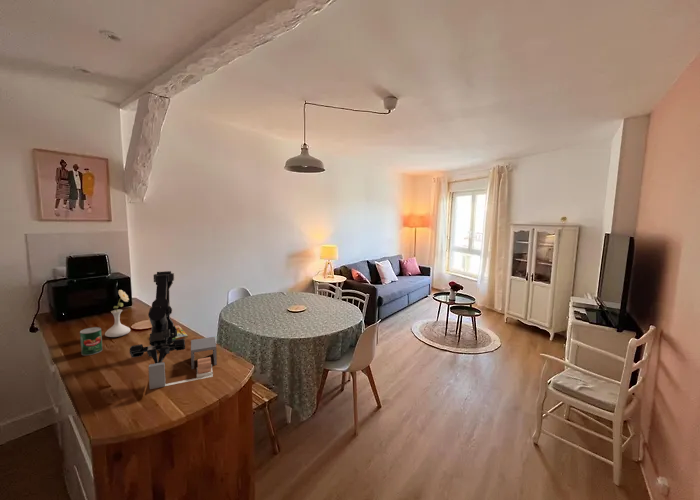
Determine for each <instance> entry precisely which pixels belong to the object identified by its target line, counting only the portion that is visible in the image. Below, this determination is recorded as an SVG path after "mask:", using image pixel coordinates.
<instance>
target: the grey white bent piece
mask: <svg viewBox="0 0 700 500" xmlns="http://www.w3.org/2000/svg"><path fill="white" fill-rule="evenodd" d="M165 367H166V364H165V361H162V363H156V364H155V363H151V364H150V363H149V365H148V382H149V385H148V386H149V390H153V389H158V388H164V387H167V386H172V385H173V386H174V385H176V384H177V385H178V384H182V383H183V384H184V383H187V382H192V381H197V380H202V379H208V378H213V377H214V372H213V364H211V372H206V373H201V374H198V366H197V367H196V377H193V378H191V379H184V380H179V381H174V382H173V381H172V382H169V383H166V368H165Z"/></svg>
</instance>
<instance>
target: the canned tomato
mask: <svg viewBox="0 0 700 500" xmlns="http://www.w3.org/2000/svg"><path fill="white" fill-rule="evenodd" d="M79 336H80V338H79V339H80V354H81V355H82V356H91V355H95V354H99V353H101V352H102V351H103V336H102V328H101V327H100V326H94V327H87V328H84V329H81V330H80V331H79Z"/></svg>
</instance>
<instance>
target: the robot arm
mask: <svg viewBox="0 0 700 500" xmlns="http://www.w3.org/2000/svg"><path fill="white" fill-rule="evenodd" d="M173 281H175V273H173V272H172V271H171V270H169V271H168V270H166V271H156V273H154V274H153V283H155V285H156V291H155V293H156V294H155V299H154V300H153V302H152V303H151V307H149V311H148V319H149V322H150V324H151V333H149V345H147V346H144V345H143V344H133V345H131V346H130V347H129V355H130V357H131V358H138V357H139V358H140V357H142V356H143V355H144V354H145V353H146V354H147V355H148V357H150V358H152V360H153V361H154V364H156V363H162V362H164V359H165V358H166V356H167V355H169V354H170V352H171V351H174V350H176V351H182V350H183V351H184V350H185V349H186V341H185V340H186V339H176V340H174V342H173V338H175V337H177V329H176V328H175V326H176V325H174V324H175V323H174V321H173V320H172V319H171V315H172V313H173V308H172V307H171V305H170V302H171V301H170V288H171V287H172V285H173V283H174V282H173ZM173 333H174V334H173ZM157 351H158V352H159V354H158V353H157ZM158 355H159V356H158Z"/></svg>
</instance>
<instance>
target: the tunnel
mask: <svg viewBox="0 0 700 500" xmlns="http://www.w3.org/2000/svg"><path fill="white" fill-rule="evenodd" d="M206 351H212V355H213V357H212V358H213V366H217V364H218V363H217V361H218V357H217V355H218V354H217V353H218V352H217V342H216V336H211V337H204V338H203V337H202V338H195V339H190V358H191V359H190V361H191V363H190V365H191V366H190V367H191V370H194V369H195V353H200V352H206Z"/></svg>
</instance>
